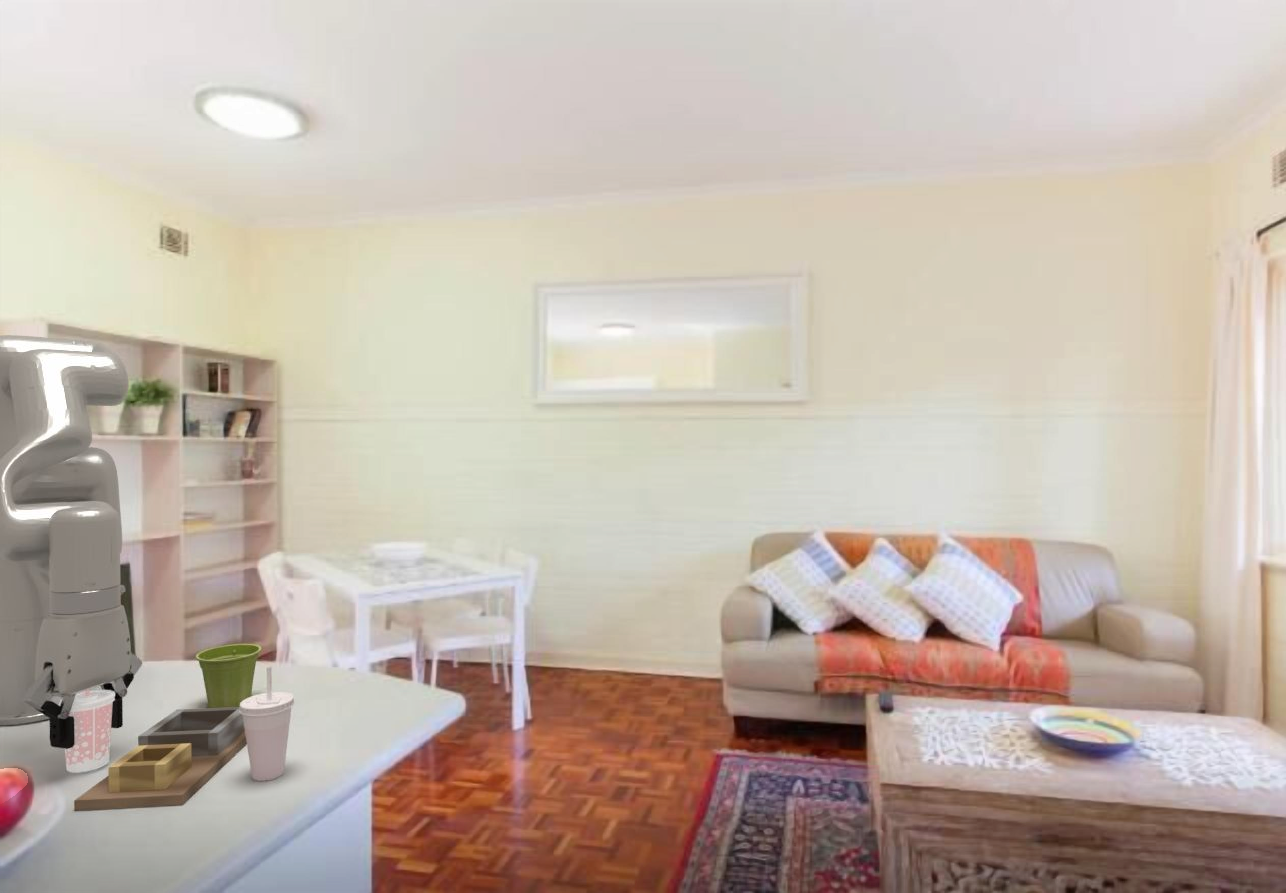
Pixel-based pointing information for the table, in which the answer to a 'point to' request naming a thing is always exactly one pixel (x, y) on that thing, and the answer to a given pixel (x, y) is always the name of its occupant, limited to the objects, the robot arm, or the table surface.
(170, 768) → the fitting board
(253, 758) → the smoothie
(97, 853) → the table surface
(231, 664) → the plant pot
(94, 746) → the beverage cup
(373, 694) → the table surface
